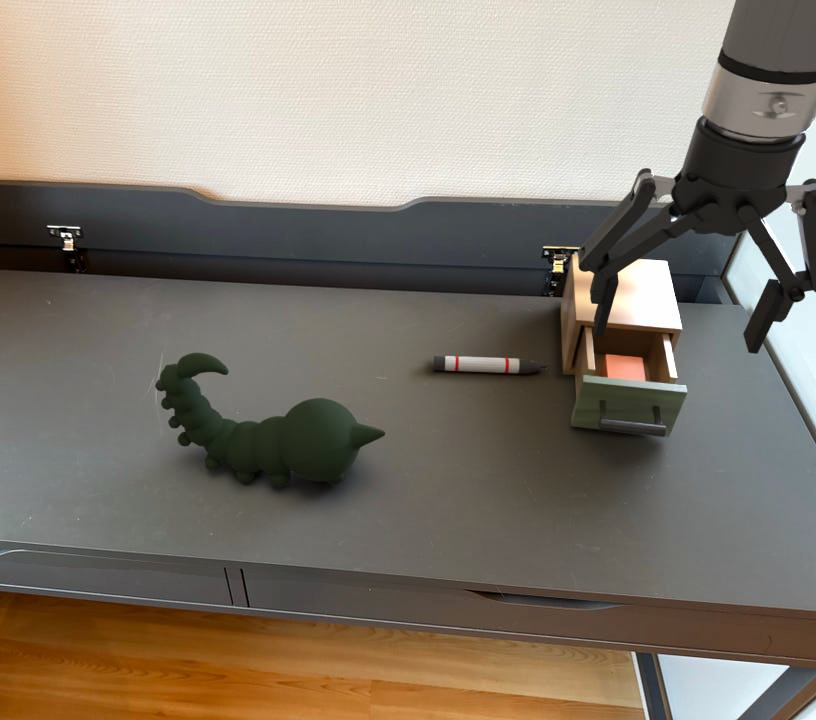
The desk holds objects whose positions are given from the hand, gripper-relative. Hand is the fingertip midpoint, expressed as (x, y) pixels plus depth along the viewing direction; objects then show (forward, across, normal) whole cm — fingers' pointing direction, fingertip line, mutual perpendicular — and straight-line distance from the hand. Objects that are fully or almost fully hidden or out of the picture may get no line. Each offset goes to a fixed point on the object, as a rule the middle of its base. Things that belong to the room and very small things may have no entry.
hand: (672, 335), depth 67 cm
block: (+20, 0, +12) cm, 24 cm away
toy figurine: (+22, -40, -6) cm, 46 cm away
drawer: (+21, 0, +11) cm, 24 cm away
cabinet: (+22, 0, +24) cm, 33 cm away
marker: (+22, -16, +16) cm, 32 cm away
